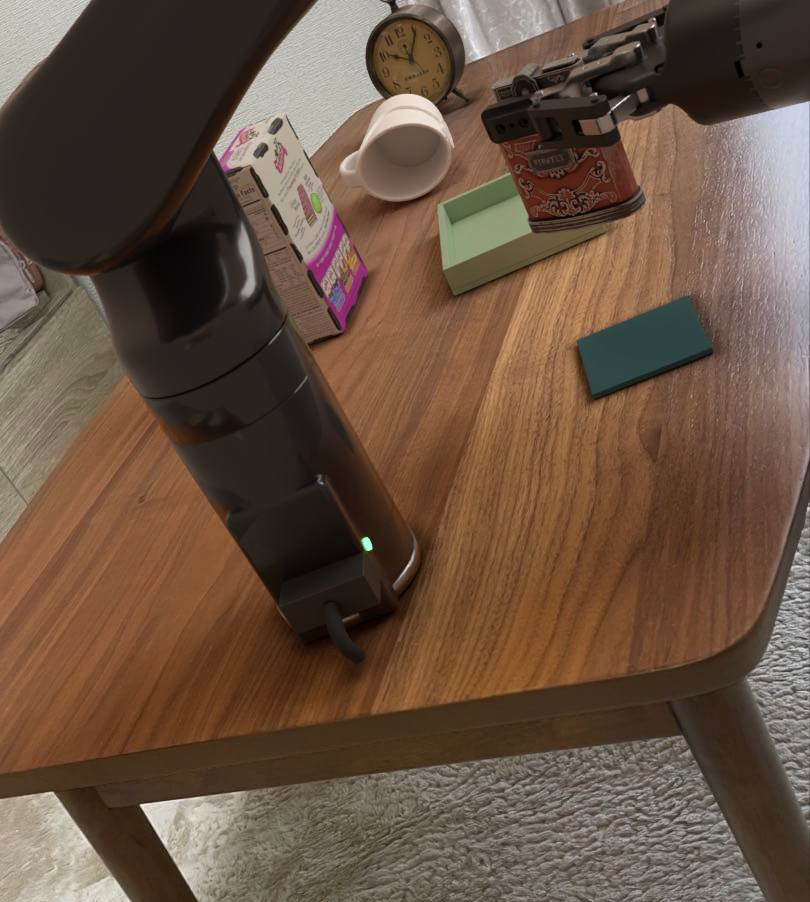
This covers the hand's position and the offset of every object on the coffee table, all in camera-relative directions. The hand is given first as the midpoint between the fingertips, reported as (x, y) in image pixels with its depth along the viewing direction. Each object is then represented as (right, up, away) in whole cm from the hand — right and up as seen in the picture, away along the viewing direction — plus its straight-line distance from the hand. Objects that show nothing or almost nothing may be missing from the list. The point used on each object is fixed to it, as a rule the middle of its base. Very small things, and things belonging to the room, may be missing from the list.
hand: (502, 110), depth 76 cm
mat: (+10, -14, +6) cm, 18 cm away
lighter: (+6, -6, +3) cm, 9 cm away
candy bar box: (-12, -6, +34) cm, 37 cm away
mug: (-5, +10, +51) cm, 53 cm away
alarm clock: (-2, +24, +69) cm, 73 cm away
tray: (+4, 0, +30) cm, 30 cm away
